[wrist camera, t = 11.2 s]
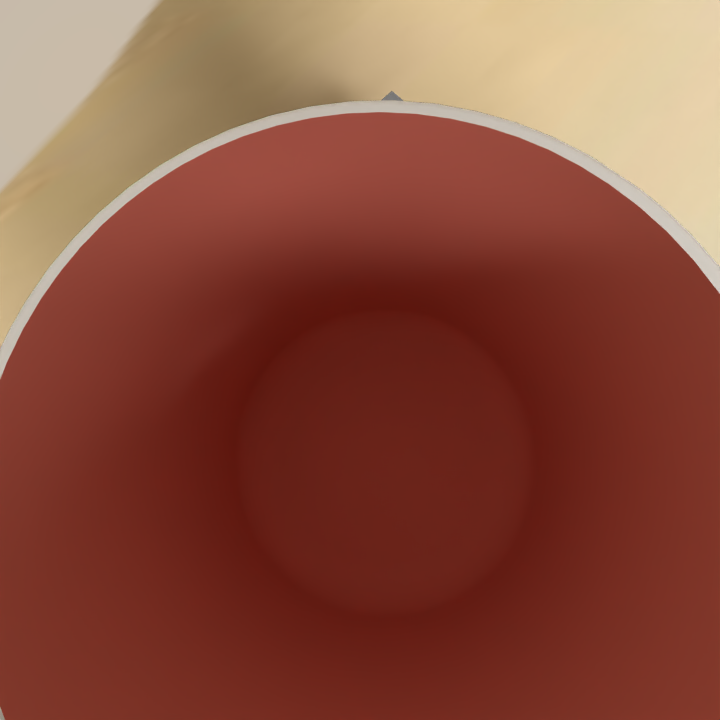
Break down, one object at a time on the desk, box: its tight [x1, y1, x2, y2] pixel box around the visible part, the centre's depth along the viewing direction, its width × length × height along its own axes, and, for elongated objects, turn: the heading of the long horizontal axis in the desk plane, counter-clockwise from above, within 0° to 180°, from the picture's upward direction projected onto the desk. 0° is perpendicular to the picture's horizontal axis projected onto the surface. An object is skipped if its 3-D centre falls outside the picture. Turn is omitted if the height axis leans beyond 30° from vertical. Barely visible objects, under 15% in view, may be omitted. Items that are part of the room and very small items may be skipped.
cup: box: [0, 100, 720, 720], centre depth 10 cm, size 10×10×10 cm
